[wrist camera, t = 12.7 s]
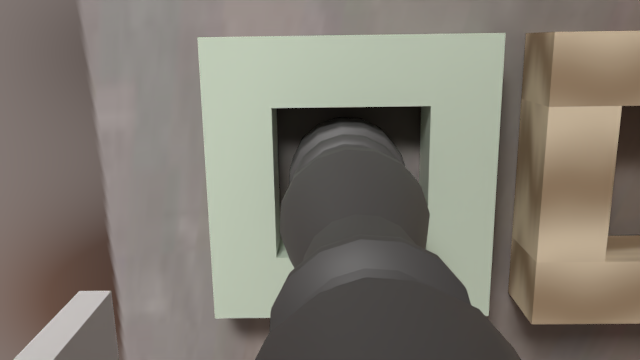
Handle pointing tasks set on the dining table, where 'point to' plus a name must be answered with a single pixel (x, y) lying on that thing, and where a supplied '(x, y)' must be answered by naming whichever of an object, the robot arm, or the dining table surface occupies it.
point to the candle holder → (367, 261)
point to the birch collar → (573, 180)
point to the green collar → (347, 91)
